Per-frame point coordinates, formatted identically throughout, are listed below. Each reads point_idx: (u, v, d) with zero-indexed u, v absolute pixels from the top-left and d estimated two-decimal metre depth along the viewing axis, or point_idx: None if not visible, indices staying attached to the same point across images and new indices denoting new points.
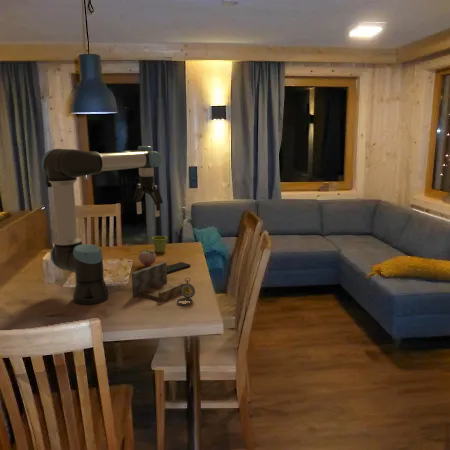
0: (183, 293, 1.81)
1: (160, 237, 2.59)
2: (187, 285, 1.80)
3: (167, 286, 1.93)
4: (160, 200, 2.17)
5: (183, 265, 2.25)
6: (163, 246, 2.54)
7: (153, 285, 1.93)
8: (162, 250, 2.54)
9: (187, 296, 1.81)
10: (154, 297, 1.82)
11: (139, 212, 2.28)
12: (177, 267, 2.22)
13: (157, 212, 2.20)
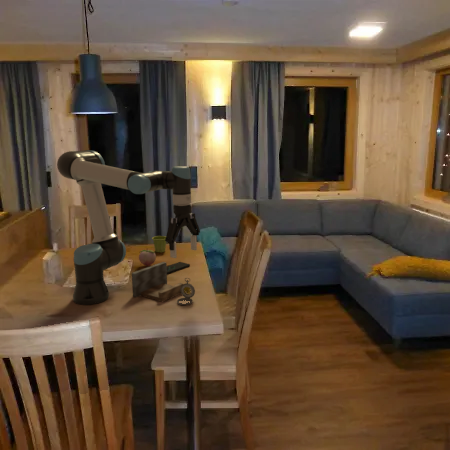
0: (183, 293, 1.81)
1: (160, 237, 2.59)
2: (187, 285, 1.80)
3: (167, 286, 1.93)
4: (167, 238, 1.67)
5: (183, 265, 2.26)
6: (163, 246, 2.54)
7: (153, 285, 1.93)
8: (162, 250, 2.54)
9: (187, 296, 1.81)
10: (154, 297, 1.82)
11: (192, 248, 1.82)
12: (177, 267, 2.22)
13: (172, 252, 1.70)
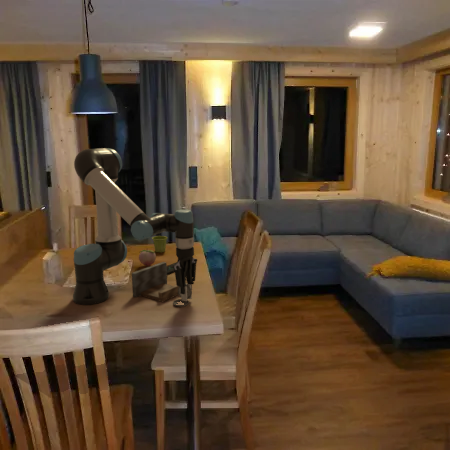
0: (180, 294, 1.80)
1: (160, 237, 2.59)
2: None
3: (167, 286, 1.93)
4: (178, 283, 1.74)
5: None
6: (163, 246, 2.54)
7: (153, 285, 1.93)
8: (162, 250, 2.54)
9: None
10: (154, 297, 1.82)
11: None
12: None
13: (183, 295, 1.77)
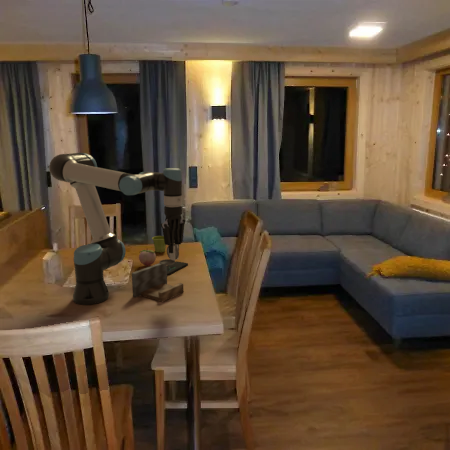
0: (169, 254, 1.80)
1: (160, 237, 2.59)
2: None
3: (167, 286, 1.93)
4: (166, 242, 1.74)
5: (181, 264, 2.27)
6: (163, 246, 2.54)
7: (153, 285, 1.93)
8: (162, 250, 2.54)
9: None
10: (154, 297, 1.82)
11: None
12: (177, 266, 2.23)
13: (171, 255, 1.78)
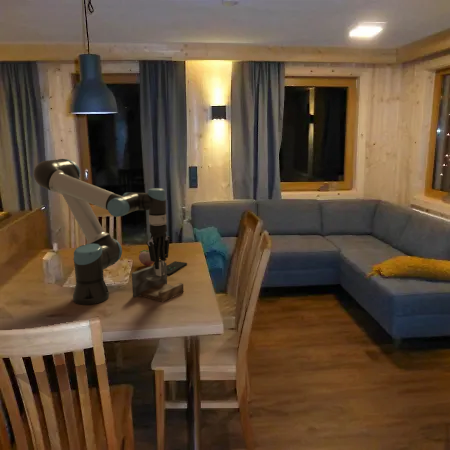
0: (155, 270, 1.88)
1: None
2: None
3: (167, 286, 1.93)
4: (152, 259, 1.82)
5: (181, 264, 2.28)
6: None
7: (153, 285, 1.93)
8: None
9: None
10: (154, 297, 1.82)
11: None
12: (177, 266, 2.24)
13: (157, 271, 1.86)
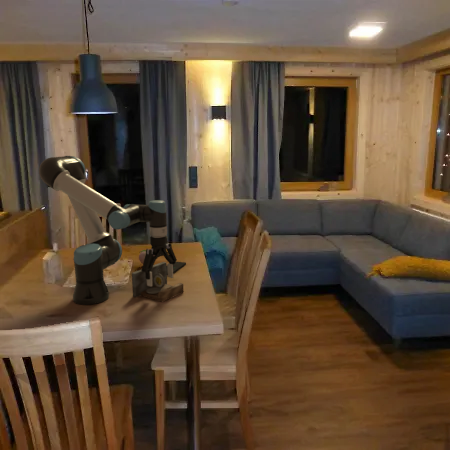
0: (155, 283, 1.89)
1: None
2: (158, 275, 1.87)
3: (167, 286, 1.93)
4: (143, 268, 1.79)
5: (180, 264, 2.28)
6: None
7: (153, 285, 1.93)
8: None
9: (158, 286, 1.89)
10: (154, 297, 1.82)
11: (169, 275, 1.93)
12: (177, 266, 2.24)
13: (148, 281, 1.82)
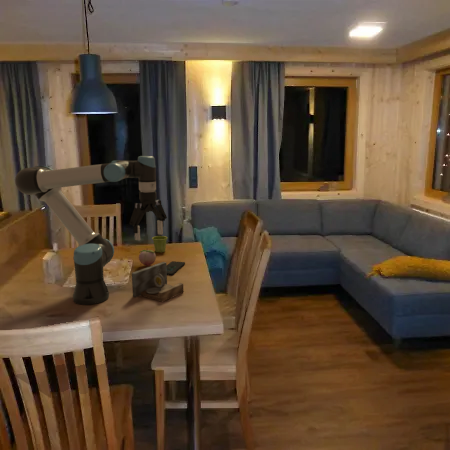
0: (155, 283, 1.89)
1: (160, 237, 2.59)
2: (158, 275, 1.87)
3: (167, 286, 1.93)
4: (131, 221, 1.81)
5: (179, 263, 2.28)
6: (163, 246, 2.54)
7: (153, 285, 1.93)
8: (162, 250, 2.54)
9: (158, 286, 1.89)
10: (154, 297, 1.82)
11: (159, 232, 1.96)
12: (177, 266, 2.24)
13: (136, 235, 1.85)
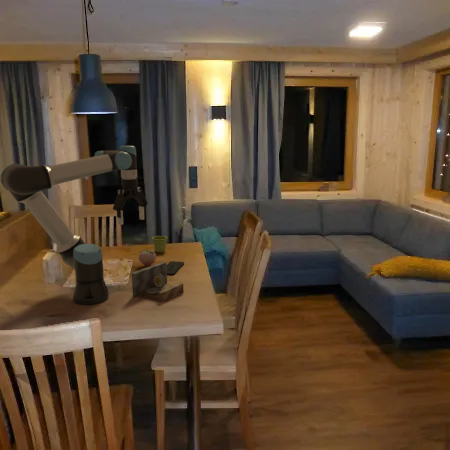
0: (155, 283, 1.89)
1: (160, 237, 2.59)
2: (158, 275, 1.87)
3: (167, 286, 1.93)
4: (114, 206, 1.95)
5: (179, 263, 2.29)
6: (163, 246, 2.54)
7: (153, 285, 1.93)
8: (162, 250, 2.54)
9: (158, 286, 1.89)
10: (154, 297, 1.82)
11: (140, 217, 2.09)
12: (177, 266, 2.24)
13: (119, 219, 1.98)
